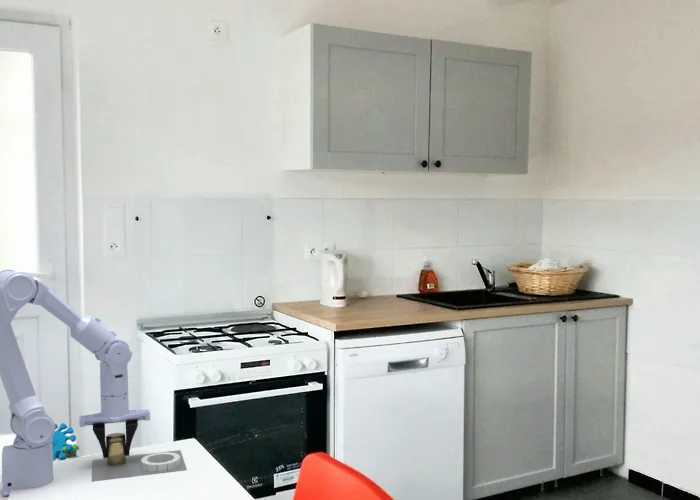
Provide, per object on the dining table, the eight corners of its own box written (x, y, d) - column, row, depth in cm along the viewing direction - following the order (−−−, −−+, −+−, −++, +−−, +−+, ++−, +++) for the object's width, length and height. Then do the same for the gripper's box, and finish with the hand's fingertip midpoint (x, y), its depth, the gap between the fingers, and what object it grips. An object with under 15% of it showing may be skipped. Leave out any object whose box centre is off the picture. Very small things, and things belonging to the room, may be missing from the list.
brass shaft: (106, 467, 158) (106, 439, 158) (106, 461, 162) (105, 434, 161) (126, 464, 159) (125, 437, 159) (125, 459, 163) (125, 432, 163)
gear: (20, 456, 164) (45, 417, 170) (32, 468, 168) (55, 429, 174) (62, 467, 160) (85, 427, 167) (73, 479, 165) (95, 439, 171)
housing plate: (91, 486, 149) (91, 474, 149) (92, 464, 163) (92, 453, 163) (187, 474, 156) (186, 462, 155) (180, 454, 169) (180, 443, 169)
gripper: (78, 401, 154) (80, 465, 154) (150, 394, 158) (151, 457, 159) (79, 393, 160) (81, 455, 161) (148, 387, 165) (149, 447, 166)
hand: (116, 455), depth 160 cm, fingers closed on brass shaft, 4 cm apart
